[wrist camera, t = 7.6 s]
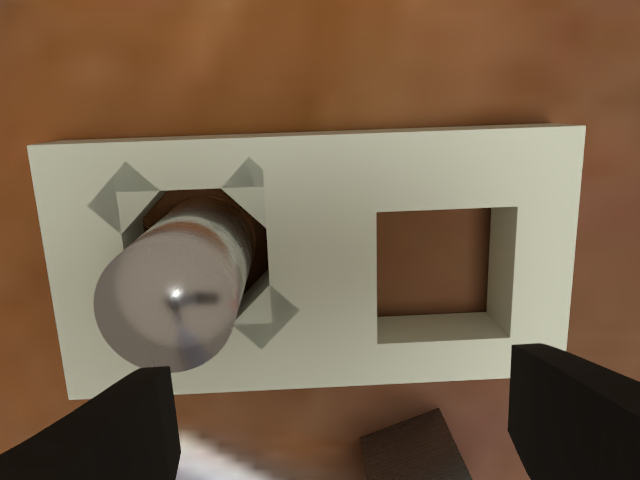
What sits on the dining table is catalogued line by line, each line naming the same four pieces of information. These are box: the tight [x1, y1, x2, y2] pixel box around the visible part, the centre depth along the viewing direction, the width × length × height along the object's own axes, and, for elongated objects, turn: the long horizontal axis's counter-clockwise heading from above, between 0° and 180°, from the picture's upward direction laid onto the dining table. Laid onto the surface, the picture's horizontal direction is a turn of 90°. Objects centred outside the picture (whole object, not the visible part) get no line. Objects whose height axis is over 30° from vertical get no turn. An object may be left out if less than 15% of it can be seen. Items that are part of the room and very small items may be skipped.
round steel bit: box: [93, 195, 256, 373], centre depth 17 cm, size 4×4×7 cm
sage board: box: [27, 123, 586, 400], centre depth 19 cm, size 9×18×2 cm, turn 92°
